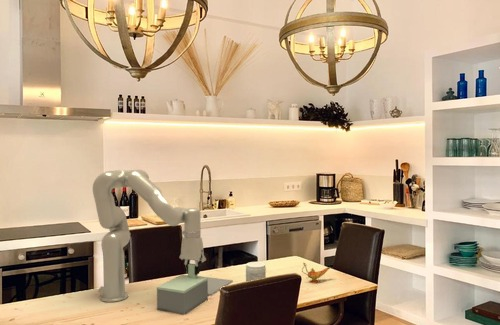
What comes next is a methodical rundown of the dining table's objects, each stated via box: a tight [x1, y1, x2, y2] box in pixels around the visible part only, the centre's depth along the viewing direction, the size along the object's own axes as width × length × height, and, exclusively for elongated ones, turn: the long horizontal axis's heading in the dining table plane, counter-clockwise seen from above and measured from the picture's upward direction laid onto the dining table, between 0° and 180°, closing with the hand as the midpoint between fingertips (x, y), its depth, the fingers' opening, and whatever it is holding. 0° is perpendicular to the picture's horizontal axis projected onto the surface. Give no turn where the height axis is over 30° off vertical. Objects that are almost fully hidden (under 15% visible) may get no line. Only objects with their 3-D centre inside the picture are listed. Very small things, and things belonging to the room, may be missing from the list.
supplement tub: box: [245, 261, 267, 282], centre depth 201 cm, size 10×10×15 cm
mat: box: [198, 275, 234, 296], centre depth 215 cm, size 22×24×1 cm
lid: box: [156, 262, 207, 293], centre depth 188 cm, size 14×20×8 cm
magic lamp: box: [301, 262, 332, 284], centre depth 221 cm, size 7×18×11 cm, turn 112°
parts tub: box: [156, 280, 209, 316], centre depth 188 cm, size 14×20×9 cm
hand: (192, 273), depth 196 cm, fingers closed on lid, 4 cm apart
